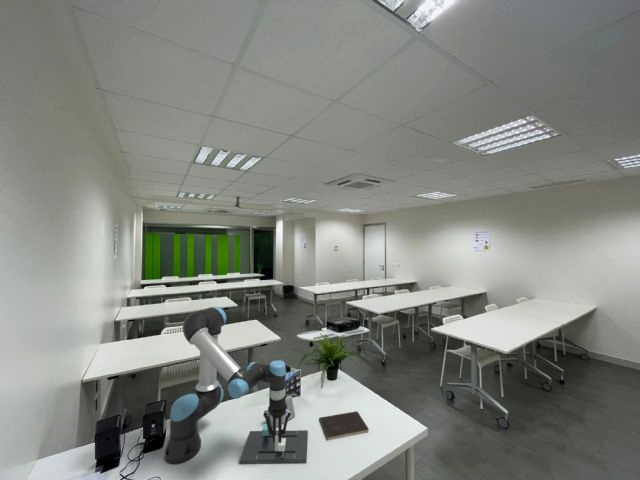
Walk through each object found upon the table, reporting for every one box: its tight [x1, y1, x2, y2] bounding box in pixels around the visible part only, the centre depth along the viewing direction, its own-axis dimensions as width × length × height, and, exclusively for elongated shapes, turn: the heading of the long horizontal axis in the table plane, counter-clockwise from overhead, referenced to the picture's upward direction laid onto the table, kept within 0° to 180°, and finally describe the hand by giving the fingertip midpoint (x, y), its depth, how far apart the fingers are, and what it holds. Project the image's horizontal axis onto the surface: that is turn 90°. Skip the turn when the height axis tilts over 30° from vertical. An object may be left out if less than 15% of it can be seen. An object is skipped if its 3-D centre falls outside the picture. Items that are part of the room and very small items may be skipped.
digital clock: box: [267, 395, 296, 430], centre depth 141 cm, size 16×9×11 cm, turn 122°
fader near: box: [278, 438, 286, 452], centre depth 116 cm, size 3×4×4 cm
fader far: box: [261, 423, 269, 436], centre depth 126 cm, size 3×4×4 cm
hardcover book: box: [318, 410, 370, 441], centre depth 136 cm, size 16×23×2 cm
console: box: [238, 429, 309, 465], centre depth 121 cm, size 30×18×2 cm, turn 91°
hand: (277, 448), depth 116 cm, fingers closed
